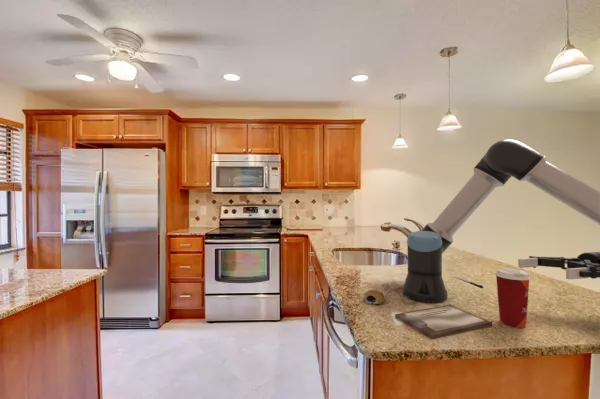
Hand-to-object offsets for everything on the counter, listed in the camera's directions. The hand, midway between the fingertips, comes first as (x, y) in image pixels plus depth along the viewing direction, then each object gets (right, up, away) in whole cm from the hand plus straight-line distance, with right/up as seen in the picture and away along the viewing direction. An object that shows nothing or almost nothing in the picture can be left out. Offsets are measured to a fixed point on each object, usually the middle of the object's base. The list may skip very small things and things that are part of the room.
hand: (541, 268), depth 81 cm
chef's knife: (+3, -16, +40) cm, 43 cm away
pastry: (-45, -16, +17) cm, 50 cm away
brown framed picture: (-29, -16, 0) cm, 33 cm away
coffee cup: (-10, -16, -2) cm, 19 cm away
